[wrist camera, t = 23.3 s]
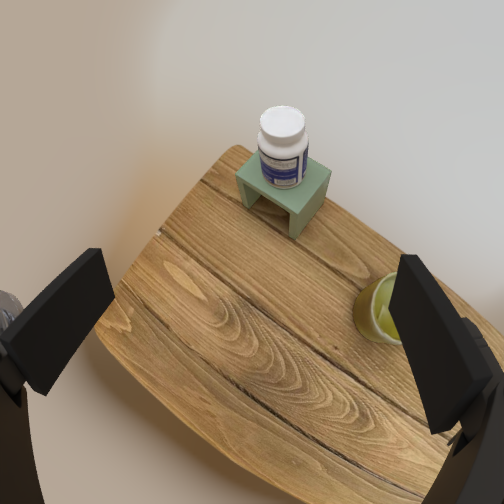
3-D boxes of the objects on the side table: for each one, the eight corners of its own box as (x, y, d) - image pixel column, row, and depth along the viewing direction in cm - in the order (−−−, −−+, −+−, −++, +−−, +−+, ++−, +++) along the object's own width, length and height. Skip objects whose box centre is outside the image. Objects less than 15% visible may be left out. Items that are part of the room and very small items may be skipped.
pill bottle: (282, 147, 38) (280, 94, 29) (314, 171, 36) (322, 119, 27) (252, 173, 37) (243, 122, 28) (285, 199, 36) (285, 149, 26)
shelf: (243, 205, 46) (234, 173, 37) (273, 171, 48) (271, 136, 39) (294, 240, 43) (297, 214, 35) (323, 202, 45) (332, 170, 36)
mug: (326, 317, 38) (372, 301, 29) (365, 272, 42) (408, 247, 33) (377, 376, 36) (427, 373, 27) (408, 327, 41) (455, 314, 32)
